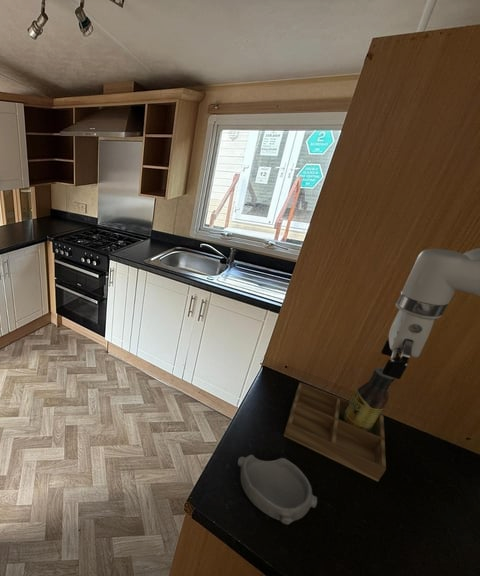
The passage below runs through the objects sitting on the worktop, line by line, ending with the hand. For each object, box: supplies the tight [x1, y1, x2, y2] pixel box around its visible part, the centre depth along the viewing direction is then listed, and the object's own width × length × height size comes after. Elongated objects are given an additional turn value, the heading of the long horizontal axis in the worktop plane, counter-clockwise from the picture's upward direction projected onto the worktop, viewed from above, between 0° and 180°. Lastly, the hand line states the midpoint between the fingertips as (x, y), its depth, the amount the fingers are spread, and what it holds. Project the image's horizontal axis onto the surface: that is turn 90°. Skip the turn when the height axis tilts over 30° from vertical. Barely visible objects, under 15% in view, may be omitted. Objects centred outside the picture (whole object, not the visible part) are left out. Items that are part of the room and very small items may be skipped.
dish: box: [237, 454, 318, 525], centre depth 70 cm, size 14×14×5 cm
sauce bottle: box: [342, 367, 396, 432], centre depth 82 cm, size 6×6×20 cm
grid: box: [283, 381, 387, 482], centre depth 85 cm, size 20×20×5 cm
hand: (389, 365), depth 77 cm, fingers open, 9 cm apart
